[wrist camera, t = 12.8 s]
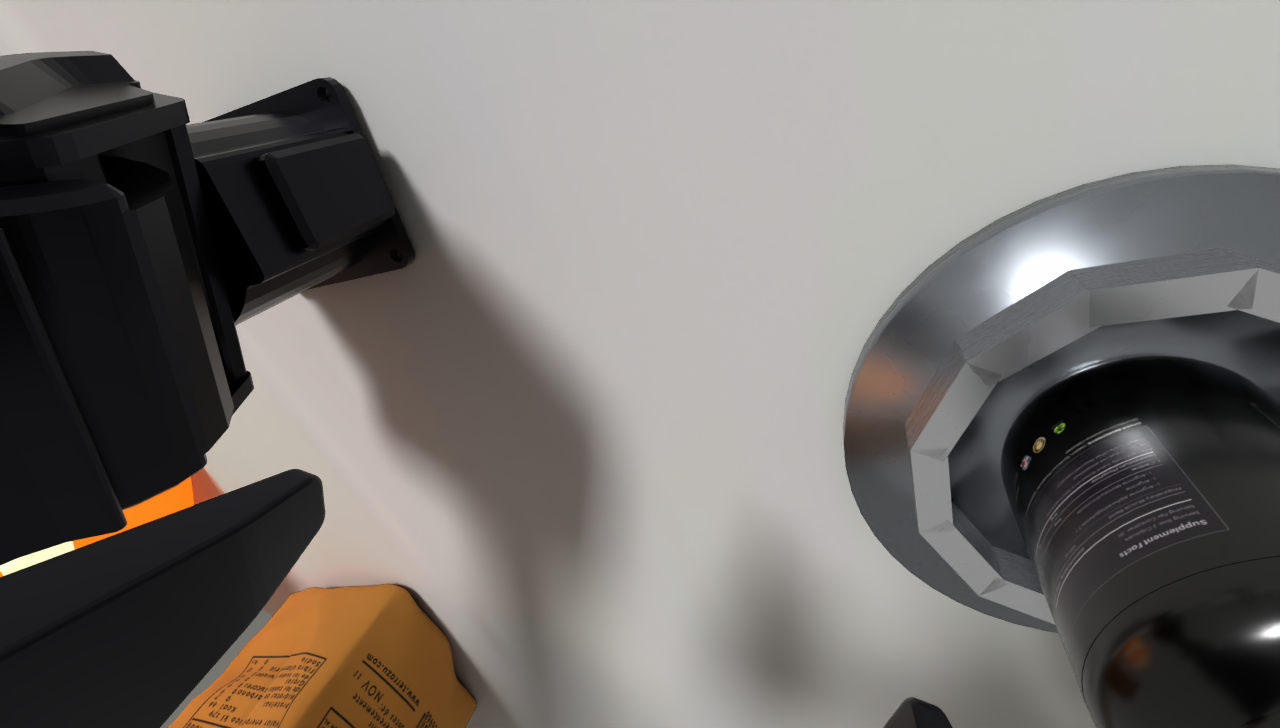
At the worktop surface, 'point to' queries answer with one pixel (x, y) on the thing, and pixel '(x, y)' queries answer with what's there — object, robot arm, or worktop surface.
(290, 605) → the coffee package
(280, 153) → the robot arm
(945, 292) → the seat plate
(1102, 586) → the supplement bottle
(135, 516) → the orange juice
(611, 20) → the worktop surface
